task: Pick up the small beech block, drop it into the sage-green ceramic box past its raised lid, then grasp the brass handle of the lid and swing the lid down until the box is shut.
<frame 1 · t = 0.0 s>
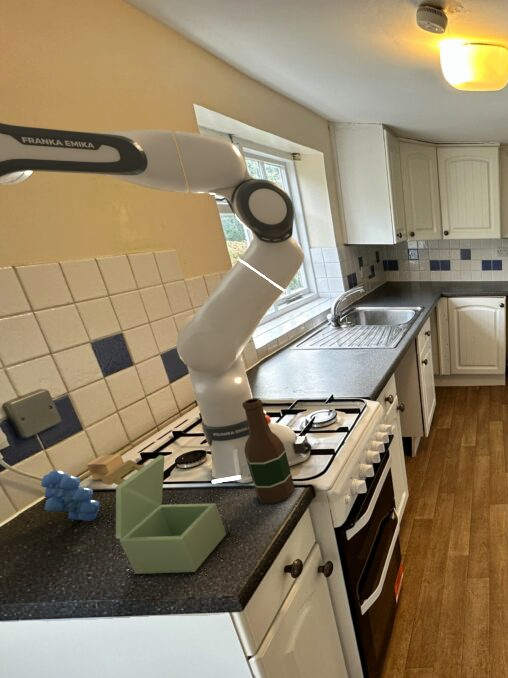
grapes: (77, 522, 87), on the countertop
block: (110, 474, 103), on the countertop
container: (183, 552, 79), on the countertop
beer bottle: (276, 494, 96), on the countertop
box lid: (128, 492, 73), point 14 cm above the countertop, hinge at 70.0°
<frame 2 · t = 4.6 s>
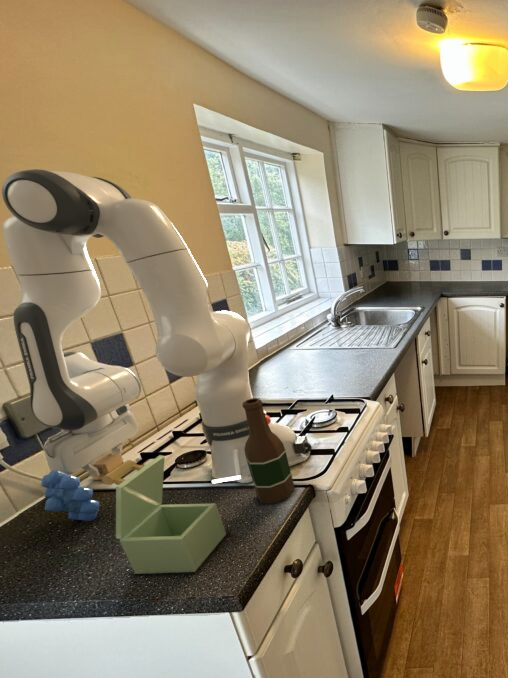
hand: (107, 468, 102), 2 cm above the countertop, tool pointing down, fingers closed on block, 4 cm apart
block: (110, 474, 103), on the countertop, touching gripper
everything else where it was.
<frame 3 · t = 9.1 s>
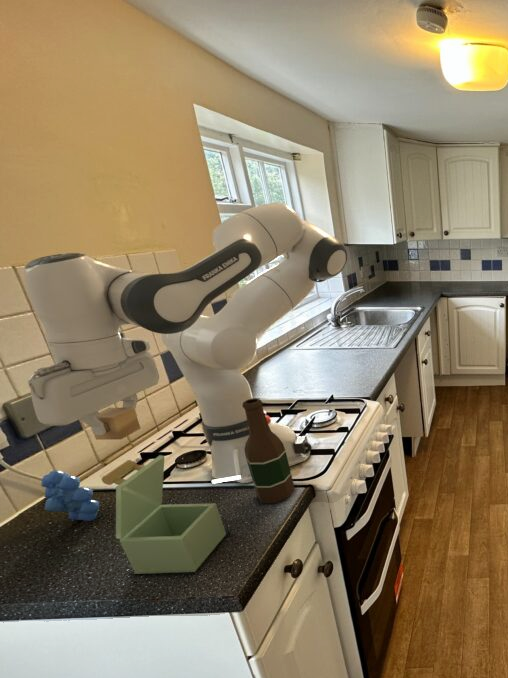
hand: (117, 425, 75), 25 cm above the countertop, tool pointing down, fingers closed on block, 4 cm apart
block: (119, 434, 76), point 23 cm above the countertop, touching gripper
everything else where it was.
when the fingers open (8 cm above the countertop, at t = 14.2 s): block stays where it is, resting on container.
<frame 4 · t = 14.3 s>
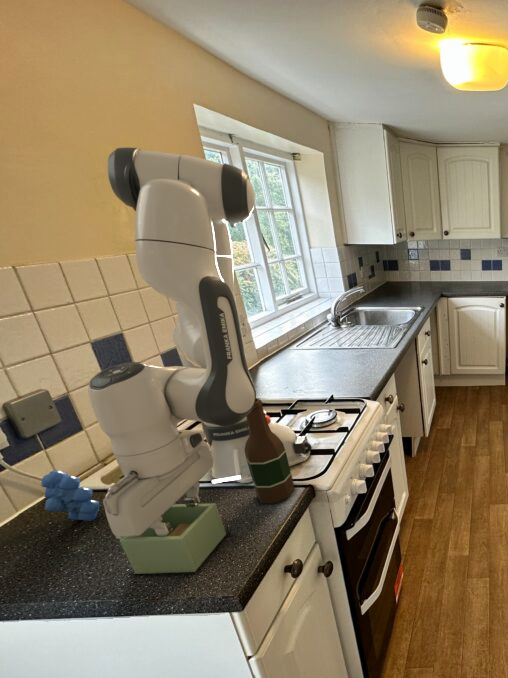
hand: (180, 518, 76), 8 cm above the countertop, tool pointing down, fingers open, 6 cm apart
block: (190, 549, 79), point 1 cm above the countertop, touching container
box lid: (128, 492, 73), point 14 cm above the countertop, hinge at 71.1°
everything else where it was.
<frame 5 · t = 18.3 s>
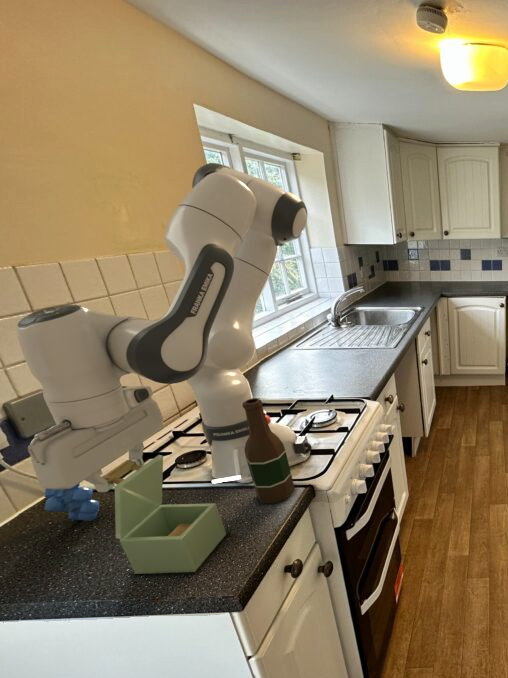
hand: (122, 478, 72), 17 cm above the countertop, tool pointing down, fingers closed on box lid, 5 cm apart
box lid: (128, 492, 73), point 14 cm above the countertop, hinge at 71.1°, touching gripper
everything else where it was.
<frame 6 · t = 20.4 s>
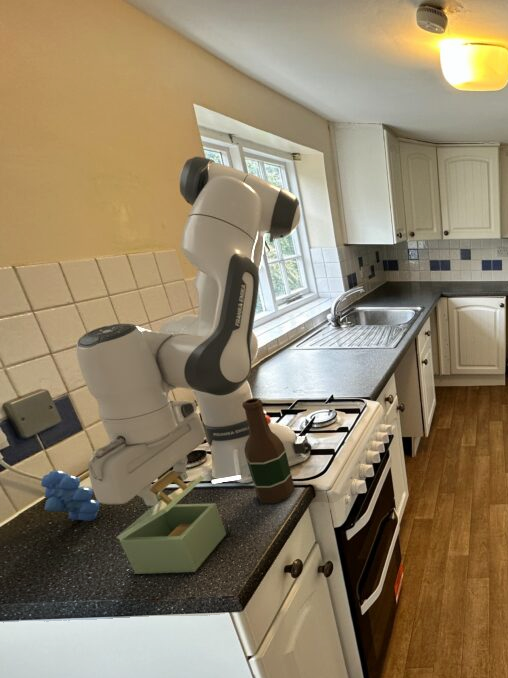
hand: (168, 491, 74), 14 cm above the countertop, tool pointing down, fingers closed on box lid, 5 cm apart
box lid: (153, 498, 74), point 13 cm above the countertop, hinge at 30.7°, touching gripper
everything else where it was.
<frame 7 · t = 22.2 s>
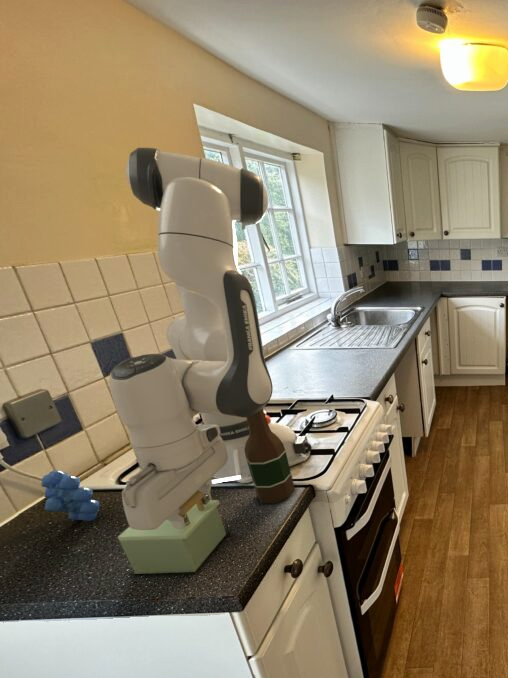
hand: (194, 513, 76), 9 cm above the countertop, tool pointing down, fingers closed on box lid, 5 cm apart
box lid: (168, 510, 75), point 10 cm above the countertop, hinge at -0.3°, touching container, gripper
everything else where it was.
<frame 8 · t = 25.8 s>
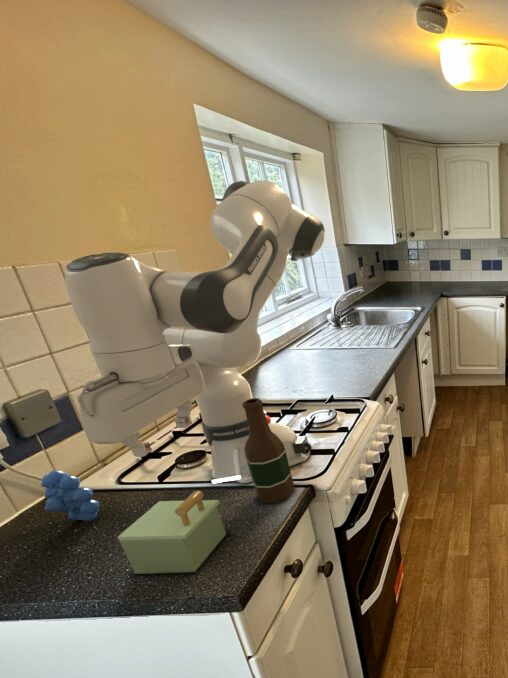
hand: (165, 439, 70), 25 cm above the countertop, tool pointing down, fingers open, 8 cm apart
box lid: (168, 510, 75), point 10 cm above the countertop, hinge at -0.2°
everything else where it was.
at the end: box lid at +0° (first picture: +70°); block inside the target area in the container (1.6 cm from its centre), point 0.8 cm above the container's base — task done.
